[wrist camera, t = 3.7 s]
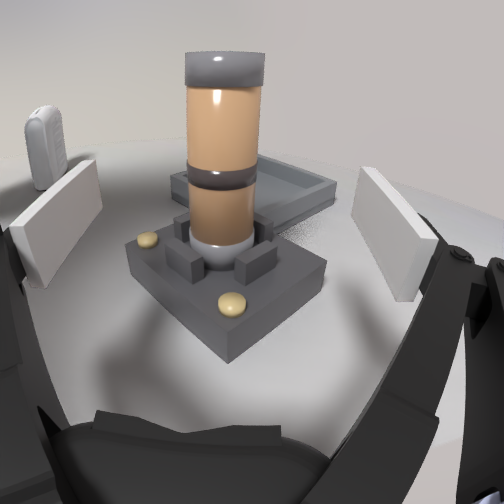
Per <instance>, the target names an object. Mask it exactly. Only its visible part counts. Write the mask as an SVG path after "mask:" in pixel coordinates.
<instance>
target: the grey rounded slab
mask: <svg viewBox="0 0 504 504" xmlns="http://www.w3.org/2000/svg"><path fill="white" fill-rule="evenodd" d="M25 139H26V145H27V152H28V158H29V163H30V168H31V173H32V178H33V183H34V186H35V189H38V190H47V189H49V188H50V187H51V186H52V185H54V184H55V183H56V182H57V181H58V180H59V179H61V177H62V176H63V174H64V173H65V172H66V170H67V168H68V163H67V156H66V150H65V143H64V135H63V126H62V117H61V113H60V111H59V110H58V109H57V108H56V107H54V106H51V105H46V106H43V107H39V108H38V109H36V110H35V111H34V112H33V113H32V114H31V115H30V117H29V118H28V120H27V122H26V124H25Z"/></svg>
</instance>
